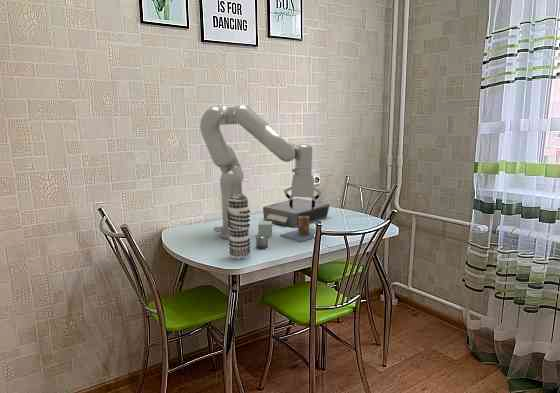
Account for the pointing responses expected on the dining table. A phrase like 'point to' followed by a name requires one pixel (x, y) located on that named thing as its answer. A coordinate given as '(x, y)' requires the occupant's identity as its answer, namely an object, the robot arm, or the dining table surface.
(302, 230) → the walnut block
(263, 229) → the sage cube
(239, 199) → the decorative candle
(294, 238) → the mat
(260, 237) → the grey cylinder
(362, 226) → the dining table surface
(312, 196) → the robot arm
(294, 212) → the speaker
